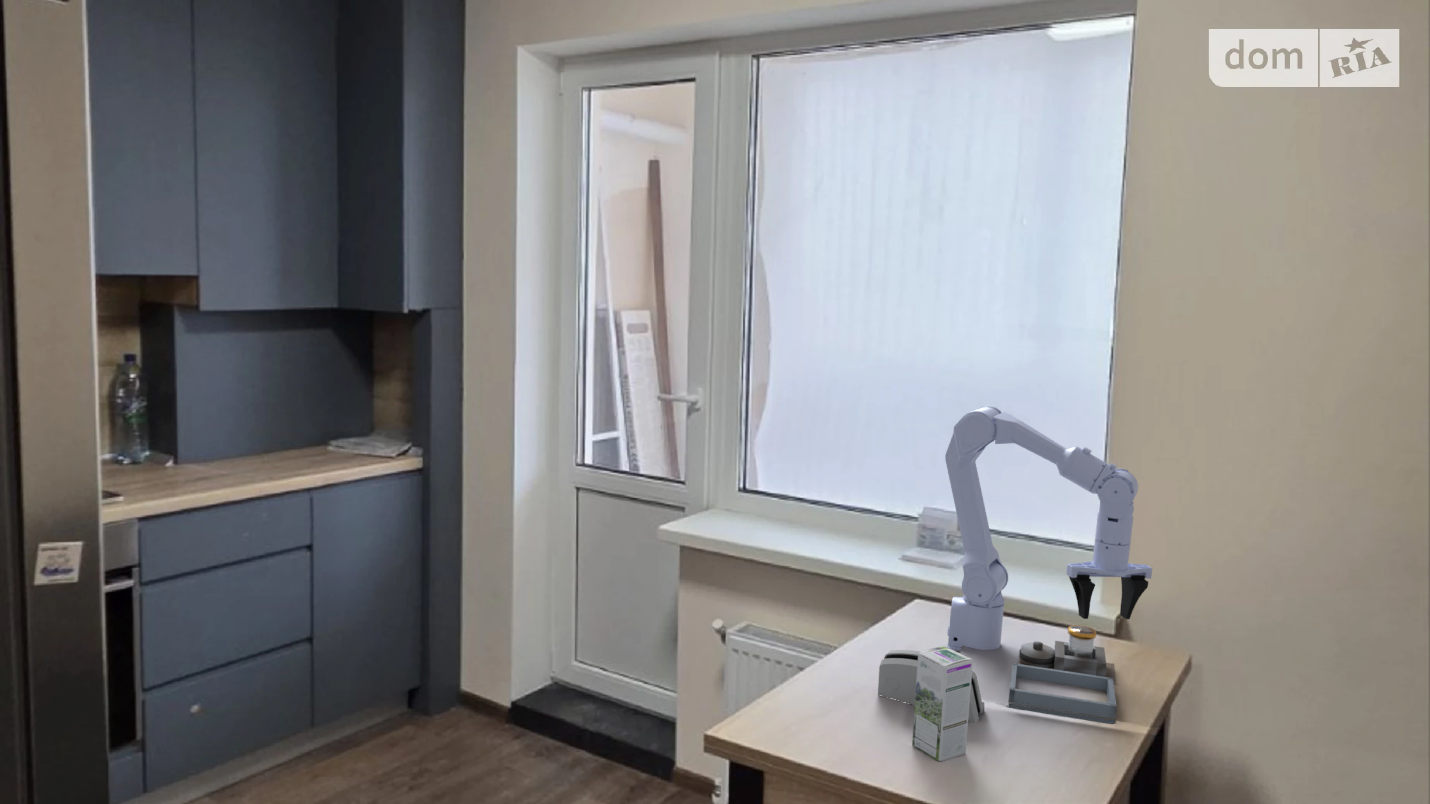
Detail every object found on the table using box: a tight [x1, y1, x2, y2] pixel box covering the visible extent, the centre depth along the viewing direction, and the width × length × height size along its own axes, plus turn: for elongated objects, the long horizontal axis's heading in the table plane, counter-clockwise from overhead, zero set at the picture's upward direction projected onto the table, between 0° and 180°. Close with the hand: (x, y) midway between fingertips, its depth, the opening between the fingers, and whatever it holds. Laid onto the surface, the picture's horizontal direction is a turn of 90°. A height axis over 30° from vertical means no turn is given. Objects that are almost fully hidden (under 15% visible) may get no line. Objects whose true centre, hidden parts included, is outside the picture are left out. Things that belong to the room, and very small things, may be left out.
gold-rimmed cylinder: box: [1067, 624, 1097, 659], centre depth 187 cm, size 5×5×7 cm
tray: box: [1007, 662, 1118, 725], centre depth 175 cm, size 16×12×3 cm
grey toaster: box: [877, 649, 986, 723], centre depth 171 cm, size 17×5×10 cm, turn 58°
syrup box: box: [911, 646, 974, 762], centre depth 155 cm, size 6×6×14 cm
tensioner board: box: [1017, 640, 1118, 686], centre depth 188 cm, size 16×10×4 cm, turn 73°
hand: (1104, 617), depth 187 cm, fingers open, 7 cm apart
